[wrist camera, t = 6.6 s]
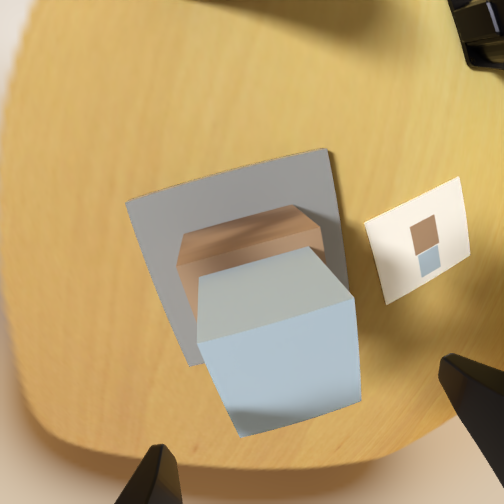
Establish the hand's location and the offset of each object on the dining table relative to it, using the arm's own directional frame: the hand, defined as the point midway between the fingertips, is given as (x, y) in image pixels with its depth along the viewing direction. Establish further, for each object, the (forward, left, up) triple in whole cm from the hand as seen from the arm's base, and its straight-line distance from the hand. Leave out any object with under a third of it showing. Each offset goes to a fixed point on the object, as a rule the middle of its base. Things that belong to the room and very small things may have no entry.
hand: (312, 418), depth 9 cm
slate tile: (0, 0, -13) cm, 13 cm away
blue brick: (0, 0, -7) cm, 7 cm away
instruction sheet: (-13, +2, -13) cm, 18 cm away
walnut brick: (0, 0, -12) cm, 12 cm away
